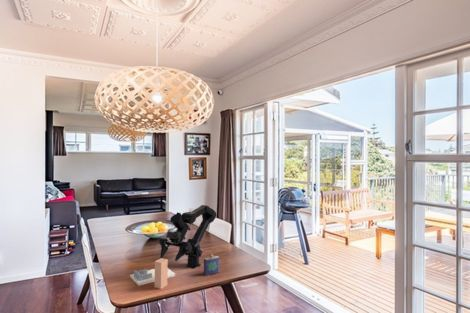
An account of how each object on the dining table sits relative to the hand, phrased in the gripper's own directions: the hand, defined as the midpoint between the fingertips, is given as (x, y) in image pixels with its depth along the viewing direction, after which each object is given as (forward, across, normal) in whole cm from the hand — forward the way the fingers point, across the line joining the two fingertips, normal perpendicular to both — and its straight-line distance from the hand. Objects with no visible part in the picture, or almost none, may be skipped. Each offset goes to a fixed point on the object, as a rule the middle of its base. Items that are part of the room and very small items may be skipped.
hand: (168, 259), depth 151 cm
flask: (-5, +15, +22) cm, 27 cm away
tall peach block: (+12, 0, +4) cm, 13 cm away
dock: (+7, -12, +10) cm, 16 cm away
